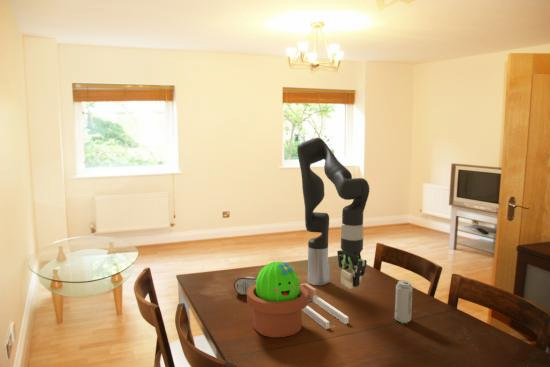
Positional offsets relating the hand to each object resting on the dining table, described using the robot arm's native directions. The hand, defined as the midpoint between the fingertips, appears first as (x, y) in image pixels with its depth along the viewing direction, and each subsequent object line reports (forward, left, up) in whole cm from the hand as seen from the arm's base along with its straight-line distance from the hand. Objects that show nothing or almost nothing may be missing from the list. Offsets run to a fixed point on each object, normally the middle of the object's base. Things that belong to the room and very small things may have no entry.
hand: (350, 283), depth 150 cm
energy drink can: (-25, 0, -19) cm, 31 cm away
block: (0, 0, 0) cm, 0 cm away
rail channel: (0, -22, -19) cm, 29 cm away
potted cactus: (+20, -16, -19) cm, 32 cm away
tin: (+17, -48, -19) cm, 54 cm away
